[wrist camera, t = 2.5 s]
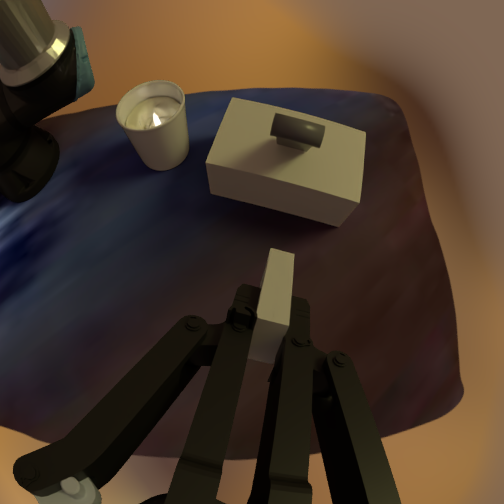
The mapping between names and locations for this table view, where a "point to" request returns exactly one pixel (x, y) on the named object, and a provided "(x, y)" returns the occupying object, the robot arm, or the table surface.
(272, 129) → the lever
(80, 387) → the table surface
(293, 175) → the beige rectangular box
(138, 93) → the candle holder
